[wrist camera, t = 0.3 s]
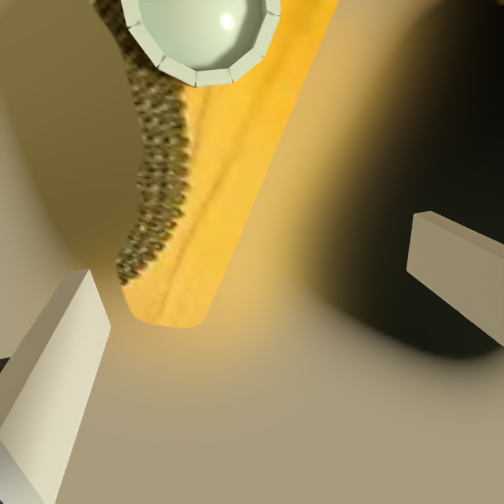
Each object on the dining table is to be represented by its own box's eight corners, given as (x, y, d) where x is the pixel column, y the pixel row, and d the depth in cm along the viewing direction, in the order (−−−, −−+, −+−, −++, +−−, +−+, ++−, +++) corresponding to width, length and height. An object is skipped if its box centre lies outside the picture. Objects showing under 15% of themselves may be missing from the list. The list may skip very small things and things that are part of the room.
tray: (103, -94, 27) (96, -112, 25) (267, -100, 29) (274, -116, 26) (144, 93, 33) (141, 92, 31) (277, 79, 35) (283, 78, 32)
